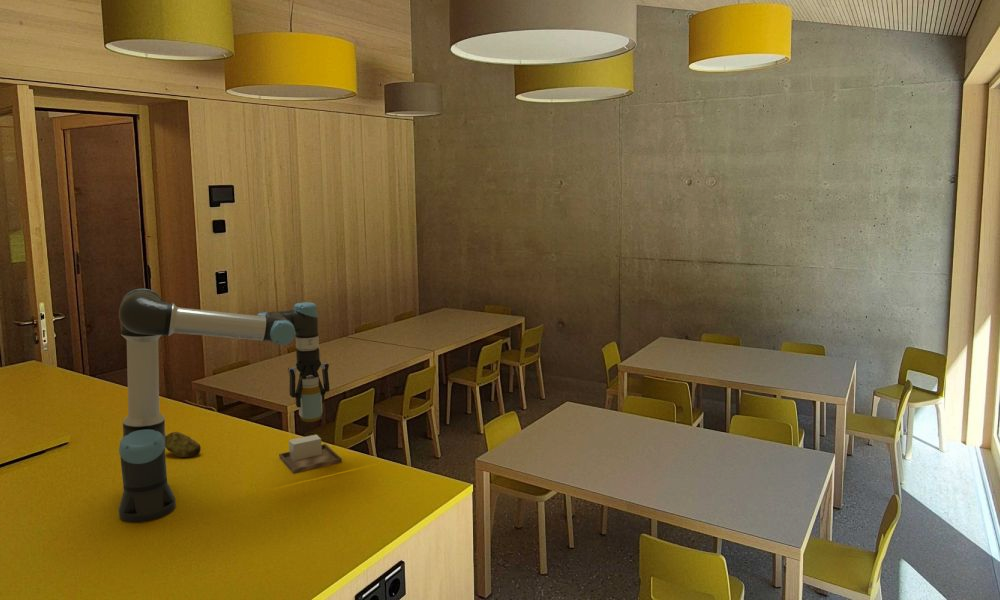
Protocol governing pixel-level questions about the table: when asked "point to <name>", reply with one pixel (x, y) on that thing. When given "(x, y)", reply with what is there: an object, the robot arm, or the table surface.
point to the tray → (311, 460)
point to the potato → (181, 445)
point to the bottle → (311, 399)
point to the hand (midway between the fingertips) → (310, 413)
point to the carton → (305, 447)
